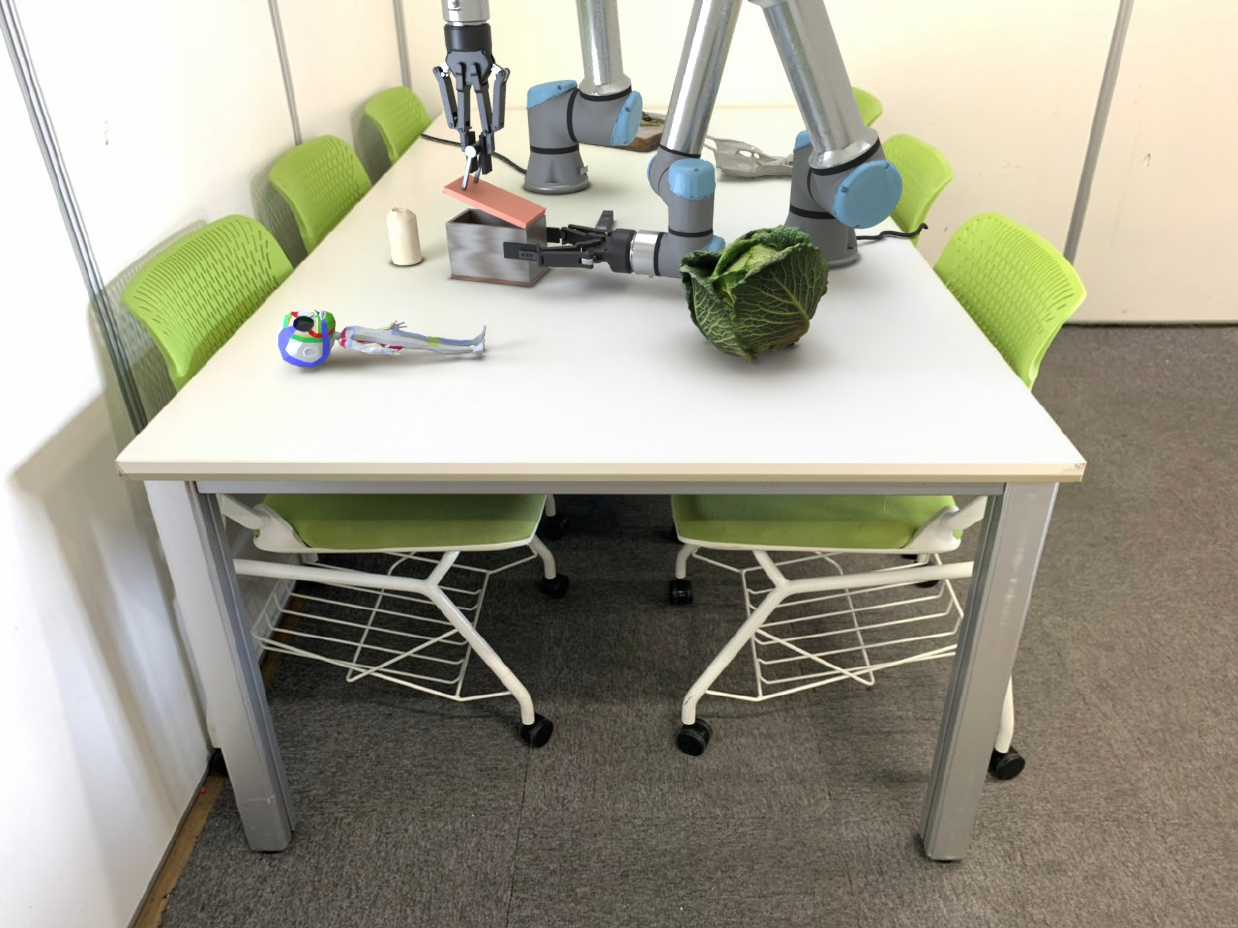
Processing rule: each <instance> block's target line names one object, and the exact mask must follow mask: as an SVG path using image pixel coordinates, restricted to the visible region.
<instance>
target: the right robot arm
mask: <svg viewBox="0 0 1238 928" xmlns="http://www.w3.org/2000/svg"><path fill="white" fill-rule="evenodd" d="M743 1H744V0H693V4H692V8H691V13H690V16H689V21H688V25H687V29H686V34H685V37H684V42H683V45H682V50H681V54H680V58H679V62H678V66H677V71H676V74H675V79H674V83H673V87H672V90H671V95H670V100H669V103H668V107H667V112H666V115H667V116H666V120H665V124H664V128H663V132H662V136H661V140H660V144H659V148H657V152H656V153H655V154H654V155H653V156H652V157H651V159H650V160H649V162H648V165H647V169H646V177H647V180H648V182H649V185H650V187H651V189H652V191H653V192H654V194H656V195H657V196H658V197H660V199H662V201H663V203H664V204H665V205H666V206H667V212H668V213H667V214H668V215H667V217H668V218H667V222H668V225H667V231H668V232H667V231H659V230H649V229H639V230H638V231H637V230H635V229H633V228H632V229H631V228H623V227H622V228H621V227H620V228H619V227H618V228H617V227H616V228H615V229H610V230H602V229H596V228H595V227H591V226H584V225H581V224H580V225H579V224H574V223H569V224H567V226H561V227H556V226H555V227H554V226H546V227H547V244H548V243H549V244H558V245H556V246H555V245H553V246H548V247H540V244H539V243H538V244H536V245H534V244H523V243H512V242H504V243H503V251H504V258H508V259H518V260H528V261H537V267H549V268H566V269H567V268H568V269H569V268H570V269H571V268H572V269H573V268H576V269H578V268H579V269H586V270H592V269H593V270H594V267H595V265H597V264H602V263H607V264H608V267H609V269H610V270H611V272H613V273H617V274H625V275H626V274H628V275H631V274H633V273H634V274H635V275H641V276H648V278H650V279H654V277H663V278H669V279H670V278H671V279H678V280H682V279H681V274H680V271H679V266H680V263H681V258H682V257H683V256H684V255H687V254H688V253H691V252H694V251H697V250H698V251H711V252H718V251H720V250H723V249H725V248H726V247H727V243H726V240H725V239H724V237H723V236H718V235H714V213H715V196H716V195H715V193H716V187H717V183H716V170H715V169H716V167H715V165H714V164H713V163H712V162H711V161H709V160H705V159H703V158H701V157H702V152H703V148H704V146H703V145H704V144H705V141H706V139H707V138H706V135H708V130H709V125H710V123H711V119H712V115H713V111H714V108H715V105H716V100H717V97H718V94H719V89H720V85H721V82H722V78H723V75H724V71H725V67H726V64H727V61H728V56H729V53H730V48H731V45H732V41H733V38H734V34H735V31H736V27H737V23H738V20H739V16H740V12H741V8H742V5H743ZM747 2H749V3H751V4H754V5H756V6H759V7H760V8H761V10H762V13H763V15H764V18H765V21H766V24H767V26H768V29H769V32H770V34H771V37H772V41H773V43H774V45H775V49H776V51H777V54H778V56H779V59H780V62H781V65H782V67H783V70H784V73H785V75H786V78H787V81H788V83H789V86H790V88H791V91H792V94H793V97H794V99H795V102H796V104H797V105H796V106H797V107H798V111H799V112H800V113H799V114H800V115H801V119H802V121H803V124H804V126H805V130H801V131H800V132H799V133H797V135H796V137H795V142H794V145H793V150H792V154H794V155H793V168H792V175H791V181H790V193H789V194H790V195H789V204H788V206H789V207H788V213H787V217H786V219H785V221H784V223H783V226H784V225H785V226H786V227H799V228H800V231H802V232H804V233H806V234H809V236H810V237H811V240H812V245H813V247H814V248H815V247H818V249H819V250H820V251H821V255H822V257H823V258H824V259H825V260H826V263H827V267H828V269H830V268H831V269H833V268H839V267H844V266H847V265H850V264H852V263H853V262H855V261H856V260H857V258H858V253H859V249H858V248H859V246H858V245H859V244H858V241H864V240H865V241H877V240H878V241H879V240H881V239H882V238H883V237H884V236H893V237H894V236H895V237H899V238H901V237H902V238H913V237H915V236H918V235H919V234H920V233H921V232H922V231H923V230H929V226H928V225H927V223H925V222H921V223H920V224H919V226H918V227H917V229H916V230H914V231H912V232H902V231H896V230H890V229H889V230H882V231H881V232H880V233H879V234H876V235H865V234H864V235H857V234H856V230H867V229H871V228H873V227H876V226H877V225H880V224H881V223H883V222H884V221H885V220H887V219H888V217H890V216H891V215H892V214H893V212H894V211H895V210H896V207H897V205H898V203H899V202H900V200H901V197H902V196H903V195H902V194H903V191H904V190H903V187H904V183H903V176H902V175H901V172H900V171H899V169H898V167H897V166H896V165H895V164H894V163H893V162H891V161H890V160H888V159H887V157H886V155H885V152H884V148H883V145H882V143H881V139H880V137H879V132H878V131H877V130H876V129H875V128H872V127H870V126H868V125H865V123H864V119H863V116H862V114H861V111H860V108H859V105H858V102H857V98H856V96H855V92H854V89H853V86H852V83H851V80H850V78H849V74H848V71H847V68H846V66H845V62H844V59H843V56H842V53H841V50H840V47H839V44H838V41H837V38H836V35H835V32H834V29H833V25H832V23H831V20H830V17H829V13H828V11H827V8H826V5H825V1H824V0H747ZM560 243H561V245H559V244H560ZM594 264H595V265H594Z"/></svg>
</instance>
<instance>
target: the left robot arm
mask: <svg viewBox="0 0 1238 928" xmlns="http://www.w3.org/2000/svg"><path fill="white" fill-rule="evenodd" d="M440 5H441V11H442V12H441V14H442V20H443V21H445V22H446V23H445V24H444V26H443V36H444V46H445V49H446V56H445V58H444V62H442V63H441V64H440V65H437V66H434V67H432V69H431V70H432V73H433V76H434V77H435V79H436V81H437V82H438V87H439V92H440V96H441V100H442V106H443V109H444V114H445V118H446V119H445V120H446V123H447V127H448V128H449V129H451V130H452V129H453V130H455V131H457V132H458V134H459V141H460V142H459V141H454V140H449V139H444V138H440V137H435V136H432V135H430V134H429V135H428V134H426V133H422V132H421V133H420V134H419V135H420V137H423V138H426V139H428V140H432V141H433V140H434V141H437V142H441V143H447V144H450V145H455V146H460V149H461V152H462V153H465V149H466V147H467V146H469V145H471V144H473V143H475V142H477V138H476V131H475V130H472V129H473V126H472V124H471V90H472V88H473V92H474V93H475V98H476V103H477V109H478V114H479V120H480V125H481V131H480V134H479V135H478V140H479V146H480V157H481V175H482V176H483V175H484V176H486V175H488V174H490V173H491V172H493V161H492V155H494V156H496V157H498V158H500V159H502V160H504V161H505V162H507V163H508V164H509V165H510V166H512V167H513V168H515V169H516V170H518V171H520V172H521V173H524V174H525V175H524V178H523V183H524V188H525V189H526V190H527V191H530V192H531V193H535V194H536V193H537V194H543V195H544V194H545V195H562V194H570V193H576V192H579V191H583V190H584V189H586V188H587V187H589V175H588V173H589V165H585V164H584V161H583V158H582V156H581V153H580V144H590V145H598V144H599V146H605V145H611V146H626V145H629V144H630V143H632V141H633V140H634V139H635V137H636V135H637V133H638V130H639V126H640V123H641V118H642V111H643V107H644V104H643V103H644V102H643V97H642V94H641V92H640V91H637V90H636V89H635V90H633V89H632V79H631V78H630V76H628V75H627V74H625V72H624V64H623V52H622V41H621V29H620V19H619V10H618V9H619V7H618V6H619V5H618V0H575V6H576V7H575V8H576V9H575V10H576V16H577V25H578V35H579V43H580V50H581V60H582V66H583V76H584V78H583V79H582V80H581V81H580V82H579V84H578V82H577V81H576V80H575V79H560V80H554V81H547V82H543V83H539V84H535V85H532V86H531V87H530V88H529V89H528V90H527V93H526V107H525V108H526V109H525V110H526V113H527V127H528V140H529V141H528V142H529V157H528V162H527V168H526V169H525V168H522V167H521V166H519V165H517V164H516V163H514V162H513V161H511V160H510V159H509V158H508V157H506V156H505V155H503V154H501V153H499V152H496V141H495V134H496V133H497V132H499V131H501V130H502V129H504V128H505V121H506V119H505V118H506V98H507V82H508V80H509V78H510V75H511V70H510V68H508V67H502V66H501V65H499V64H498V63H497V61H496V58H495V56H494V54H493V38H492V37H493V36H492V27H491V25H490V23H489V22H487V21H489V20H490V19H491V12H490V1H489V0H440ZM451 74H452V76H453V77H454V79H455V90H456V92H457V93H456V94H457V95H456V94H455V90H454V85H453V81H452V78H451ZM491 74H492V78H493V79H494V81H493V88H492V93H493V94H492V104H491V98H490V92H489V89H490V83H489V79H490V76H491ZM456 96H457V97H456ZM611 146H610V147H611ZM465 158H466V161H467V159H468V156H467V155H466V154H465ZM477 170H478V155H477V156H476V157H474V158H473V160H472V165H471V170H470V175H473V174H475V172H476V171H477Z"/></svg>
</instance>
